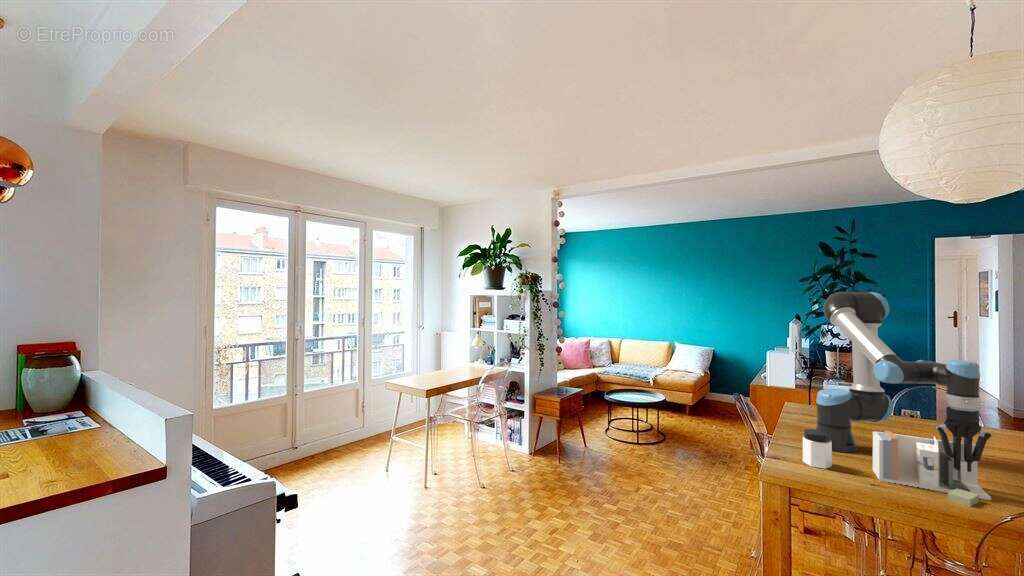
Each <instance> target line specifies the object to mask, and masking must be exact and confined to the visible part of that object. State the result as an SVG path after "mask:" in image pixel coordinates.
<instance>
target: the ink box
mask: <svg viewBox="0 0 1024 576" xmlns="http://www.w3.org/2000/svg"><path fill="white" fill-rule="evenodd" d="M933 439H934V445H931V444H925V443H920V442H916V476H917V478H918V481H919V484H924V485H929V486H934V487H939V446H938V441H937V440H938V439H937V438H936V437H935V436H933ZM936 439H937V440H936ZM936 443H937V444H936Z"/></svg>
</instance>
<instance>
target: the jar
mask: <svg viewBox="0 0 1024 576" xmlns="http://www.w3.org/2000/svg"><path fill="white" fill-rule="evenodd" d="M832 455H833V451H832V441H830V434H829V433H828V432H825V431H822V430H817V429H815V428H806V429H804V430H803V437H802V462H803V463H804V464H806V465H808V466H809V467H813V468H819V469H823V470H826V469H828V468H829V469H830V468H831V467H832V465H833V463H832V462H833V460H832V459H833V456H832Z"/></svg>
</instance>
